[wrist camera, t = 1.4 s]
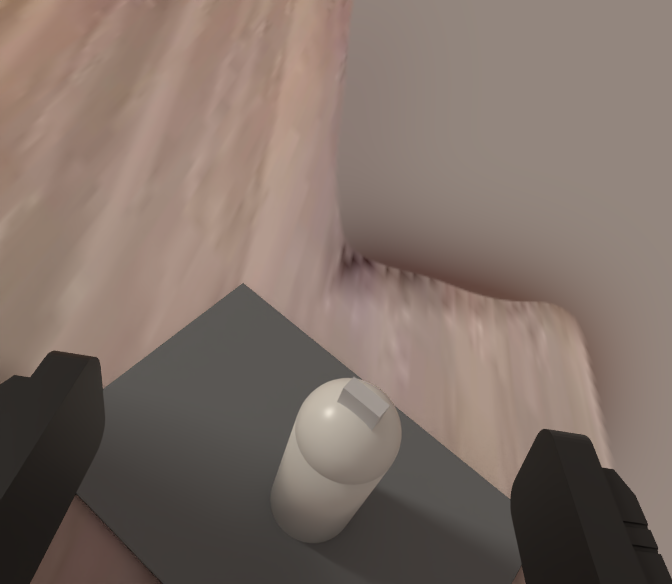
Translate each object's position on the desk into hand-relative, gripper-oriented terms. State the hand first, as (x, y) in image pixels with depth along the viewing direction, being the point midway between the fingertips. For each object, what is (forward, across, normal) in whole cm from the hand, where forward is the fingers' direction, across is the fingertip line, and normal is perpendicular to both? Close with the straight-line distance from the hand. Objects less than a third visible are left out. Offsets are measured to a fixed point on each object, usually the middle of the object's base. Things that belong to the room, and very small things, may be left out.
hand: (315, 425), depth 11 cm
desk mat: (+14, 0, +20) cm, 24 cm away
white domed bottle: (+13, -1, +19) cm, 23 cm away
